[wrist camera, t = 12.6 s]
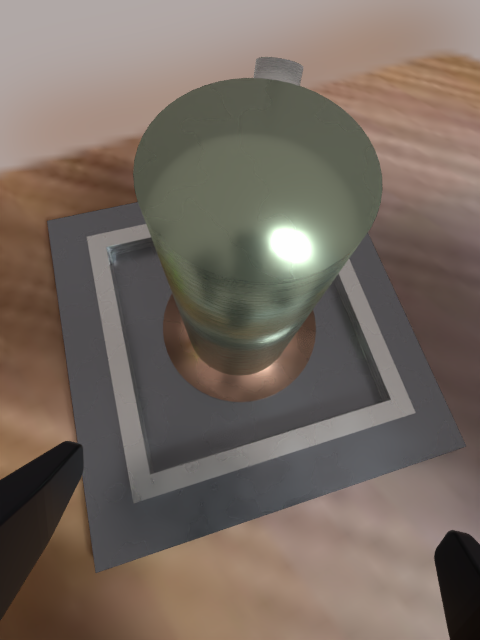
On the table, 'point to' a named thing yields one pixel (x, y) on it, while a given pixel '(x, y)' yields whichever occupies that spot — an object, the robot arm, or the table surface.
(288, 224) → the spout can
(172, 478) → the port plate
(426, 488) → the table surface
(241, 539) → the table surface
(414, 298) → the table surface
